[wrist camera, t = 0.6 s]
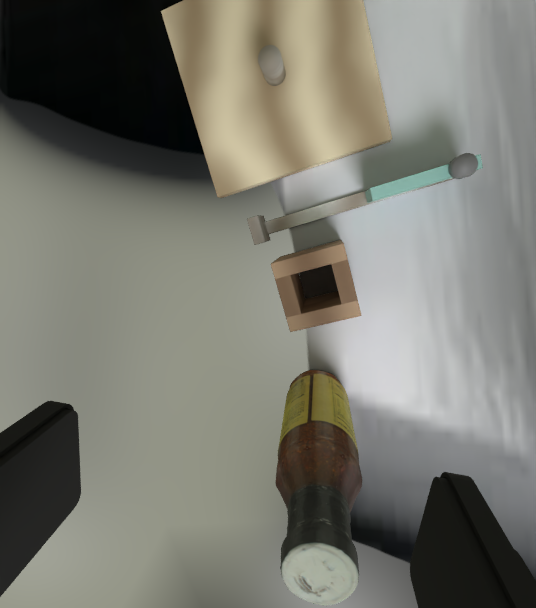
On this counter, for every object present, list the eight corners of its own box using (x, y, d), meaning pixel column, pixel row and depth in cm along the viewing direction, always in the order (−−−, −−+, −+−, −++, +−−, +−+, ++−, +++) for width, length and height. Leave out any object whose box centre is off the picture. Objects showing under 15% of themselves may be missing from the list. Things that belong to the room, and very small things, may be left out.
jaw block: (340, 239, 33) (343, 243, 27) (355, 299, 34) (361, 315, 28) (280, 256, 34) (270, 263, 28) (296, 313, 35) (290, 332, 29)
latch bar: (459, 159, 29) (486, 146, 24) (463, 178, 30) (490, 169, 25) (364, 188, 31) (371, 182, 26) (368, 206, 31) (375, 203, 26)
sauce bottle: (293, 422, 38) (258, 622, 19) (284, 369, 37) (236, 527, 18) (354, 418, 37) (382, 629, 18) (346, 363, 36) (368, 527, 17)
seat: (425, -104, 26) (442, -163, 22) (474, 180, 30) (497, 173, 26) (167, 18, 31) (143, -12, 27) (237, 250, 35) (225, 253, 31)
